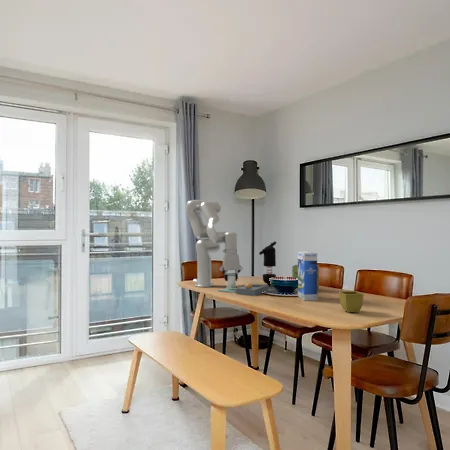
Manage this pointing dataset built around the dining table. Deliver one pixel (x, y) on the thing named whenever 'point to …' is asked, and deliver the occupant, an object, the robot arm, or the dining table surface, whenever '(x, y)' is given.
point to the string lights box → (307, 275)
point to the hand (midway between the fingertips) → (231, 280)
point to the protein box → (295, 274)
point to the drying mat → (229, 290)
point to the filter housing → (252, 290)
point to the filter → (269, 261)
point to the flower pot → (351, 300)
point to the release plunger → (248, 285)
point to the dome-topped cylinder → (231, 280)
